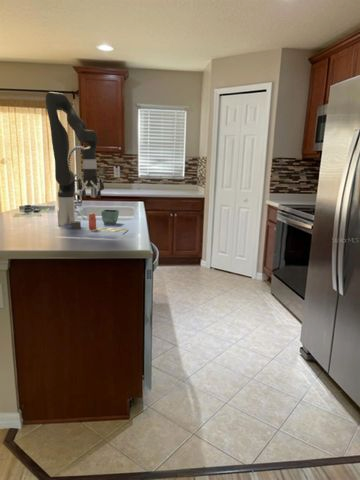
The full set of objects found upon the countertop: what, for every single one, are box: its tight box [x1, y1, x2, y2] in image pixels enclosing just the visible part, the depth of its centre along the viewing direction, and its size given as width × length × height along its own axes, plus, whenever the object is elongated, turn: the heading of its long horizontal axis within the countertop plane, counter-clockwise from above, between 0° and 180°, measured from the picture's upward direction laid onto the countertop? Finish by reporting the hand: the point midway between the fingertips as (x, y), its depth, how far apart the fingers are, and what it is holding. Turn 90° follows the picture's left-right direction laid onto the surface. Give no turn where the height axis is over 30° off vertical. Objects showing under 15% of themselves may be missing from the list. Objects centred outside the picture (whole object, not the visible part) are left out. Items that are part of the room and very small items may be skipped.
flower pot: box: [100, 209, 120, 225], centre depth 216 cm, size 9×9×9 cm
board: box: [86, 227, 129, 235], centre depth 198 cm, size 22×10×1 cm, turn 84°
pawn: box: [88, 212, 97, 231], centre depth 197 cm, size 4×4×9 cm
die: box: [70, 220, 82, 230], centre depth 199 cm, size 5×5×5 cm
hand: (91, 197), depth 196 cm, fingers open, 8 cm apart
